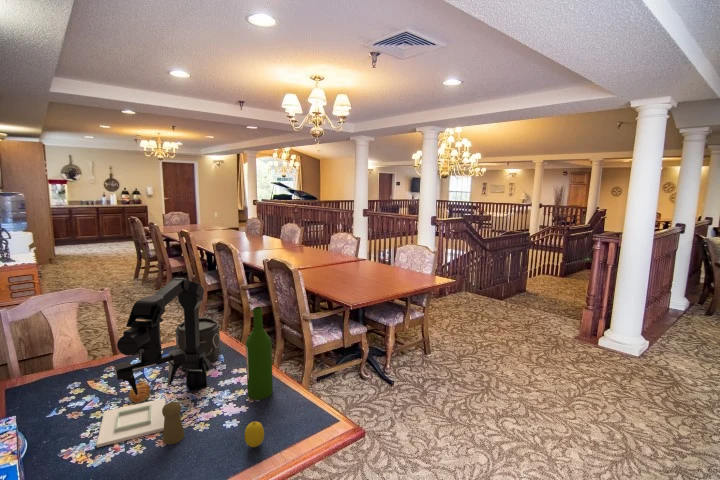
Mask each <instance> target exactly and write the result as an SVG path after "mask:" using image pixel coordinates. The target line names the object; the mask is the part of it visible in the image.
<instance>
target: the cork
mask: <svg viewBox="0 0 720 480" xmlns="http://www.w3.org/2000/svg"><path fill="white" fill-rule="evenodd" d="M181 412H182V404H181V403H180V402H179V401H170V402H167V403H165V405H164V407H163V409H162V414H163V416H164V430H163V431H162V432H163V433H162V442H163V444H165V445H174V444H177V443H179V442H181V441H182V440H183V439H184V438H185V437H186V436H185V435H186V434H185V430H184V426H183V422H182V421H183V420H182V416H181Z"/></svg>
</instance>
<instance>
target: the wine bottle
mask: <svg viewBox="0 0 720 480" xmlns="http://www.w3.org/2000/svg"><path fill="white" fill-rule="evenodd" d="M252 311H253V329H252V331H251V333H250V334H249V336H248V337H247V338H246V341H245V342H246V343H245V358H246V359H245V362H246V386H247V388H246V389H247V396H248V398H249V399H251V400H255V401H260V400H261V399H262V400H265V399H268V398H269V397H270V396H272V394H273V392H274V391H273V389H274V388H273V387H274V386H273V355H272V354H273V353H272V350H273V349H272V348H273V347H272V339H271V337H270V336H269V334H268V333H267V332H266V330H265V329H264V326H263V325H264V324H263V308H262V307H261V306H256V307H253V310H252ZM267 397H268V398H267Z"/></svg>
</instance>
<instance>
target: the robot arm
mask: <svg viewBox="0 0 720 480" xmlns="http://www.w3.org/2000/svg"><path fill="white" fill-rule="evenodd" d="M204 295H205V289H204V287H203V286H202V285H201V284H200V283H197V282H194V281H191V280H190V279H188V278H186V277H174V278H171V280H170V281H169V282H168V283H167V284H166V285H165V286H163V287H162V288H160V289H159V290H158V291H157V292H156V293H154V294H153V295H150V296H149V295H148V296H145V297H142V298H140V299H138V300H136V301H135V302H134V304H133V306H132V307H131V311H130V314H129V317H128V319H127V323H126V325H125V327H126V328H129V329H125V330H124V331H123V332H122V333H123V335H122V336H121V337H120V338H119V339H118V340H117V343H116V346H117V347H116V348H117V350H118V351H119V353H121V355H124V356H127V357H128V356H131V357H135V356H138V361H140V362H136V363H132V364H131V361H130V360H126V361H123V362H122V361H121V362H119V363H116V364H115V365H114V366H113V370H114V371H113V372H114V375H115V378H116V381H117V380H118V381H120V380H121V381H122V382H128V384H129V385H130V388H133V390H134V392H135V394H136V395H137V387H136V384H137V383H136V378H135V375H134V371H138V370H139V371H140V370H142V369H146V368H150V367H153V366H158V365H161V364H165V363H167V364H168V374H167V375H168V377H167V378H168V379H167V381H168V386H171V385H172V383H173V380H174V378H175V376H176V373H177V371H178V370H179V368H181V371H182V372H183V373H186V374H185V381H186V388H188V391H190V392H191V391H195V390H200V389H203V388H207V387H208V382H207V372H210V368H211V363H212V362H210V361H209V360H208V359H207V358H206V357H205V351H204V349H203V348H202V347H201V345H200V335H199V318H200V315H199V307H200V305H201V304H202V302H203V299H204ZM176 297H177V300H178V303H179V304H180V306H181V307H182V309H183V319H184V320H183V321H184V324H185V349H184V351H183V350H182V349H177V348H176V349H171V350H169V351H168V355H165V356H164V355H162V354H163V353H162V338H161V323H162V322H163V321H164V319H163V318H162V316H163V315H164V314H165V312H166V306H167V305H168V304H170V302H172V301H173V300H174V299H175V298H176Z"/></svg>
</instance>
